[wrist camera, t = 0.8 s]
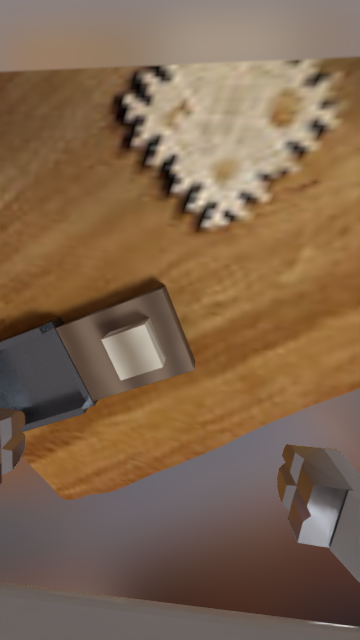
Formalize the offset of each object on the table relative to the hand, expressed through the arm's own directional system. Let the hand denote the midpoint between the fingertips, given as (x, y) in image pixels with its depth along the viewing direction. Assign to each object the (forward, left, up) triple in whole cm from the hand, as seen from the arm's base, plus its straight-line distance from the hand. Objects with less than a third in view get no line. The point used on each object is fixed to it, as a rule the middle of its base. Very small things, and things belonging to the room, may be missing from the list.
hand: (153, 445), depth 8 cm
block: (+9, +4, -26) cm, 28 cm away
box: (+28, +4, -29) cm, 41 cm away
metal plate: (+11, +4, -29) cm, 32 cm away
